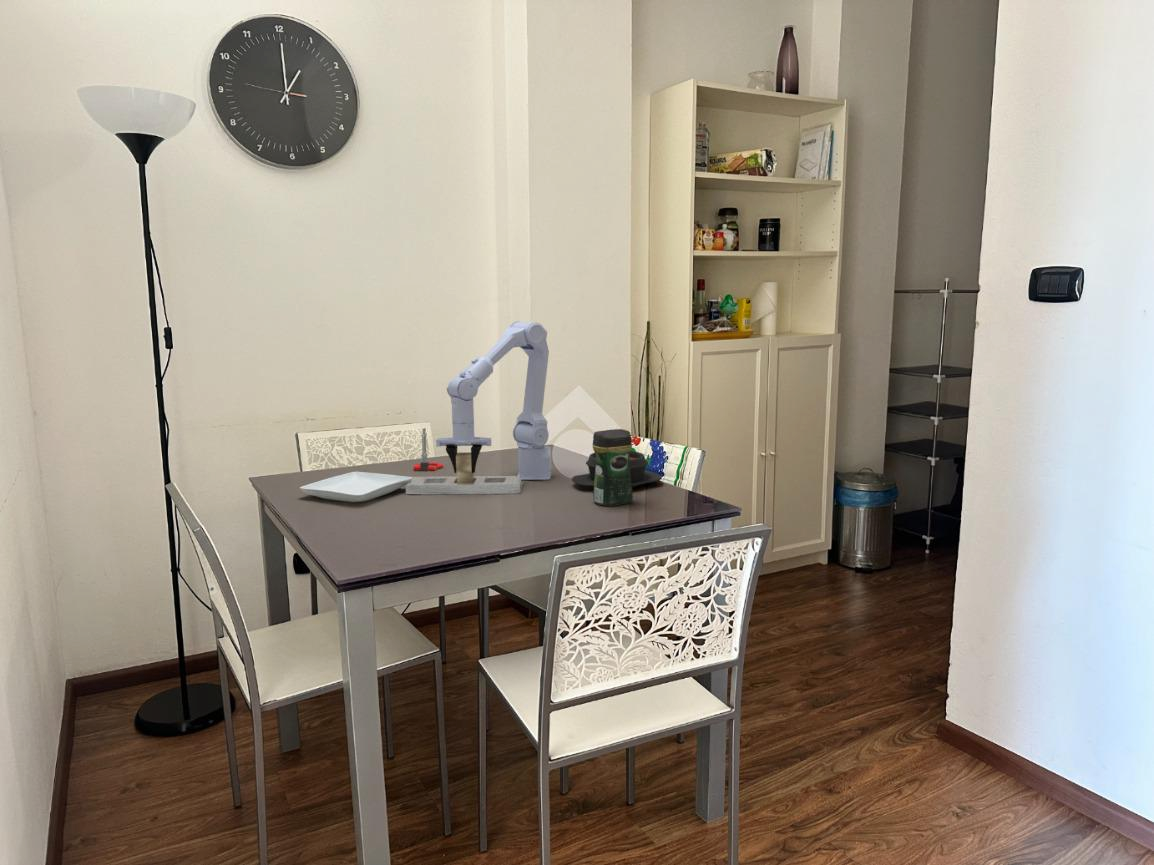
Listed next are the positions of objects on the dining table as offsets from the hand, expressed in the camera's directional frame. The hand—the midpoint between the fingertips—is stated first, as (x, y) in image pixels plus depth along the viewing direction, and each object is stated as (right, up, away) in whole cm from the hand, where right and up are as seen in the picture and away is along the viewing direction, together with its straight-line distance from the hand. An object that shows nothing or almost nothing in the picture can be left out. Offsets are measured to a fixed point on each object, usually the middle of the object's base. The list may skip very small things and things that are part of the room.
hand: (464, 472), depth 220 cm
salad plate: (-28, -6, -3) cm, 29 cm away
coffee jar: (+39, -7, -14) cm, 42 cm away
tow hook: (-15, 0, +29) cm, 32 cm away
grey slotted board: (0, -5, +1) cm, 5 cm away
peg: (0, -3, +1) cm, 3 cm away
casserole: (+41, -4, +5) cm, 41 cm away
